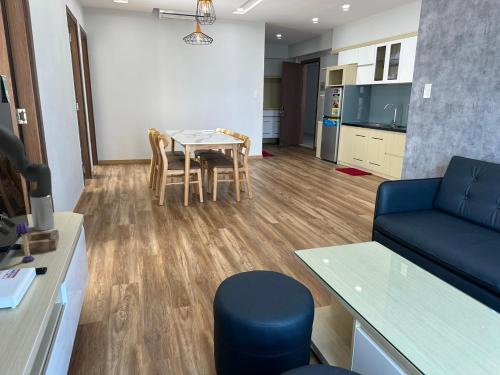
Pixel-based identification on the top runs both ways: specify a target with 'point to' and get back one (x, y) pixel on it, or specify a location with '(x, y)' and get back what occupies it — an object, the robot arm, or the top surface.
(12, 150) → the robot arm
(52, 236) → the walnut jig
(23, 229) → the toy lamp
